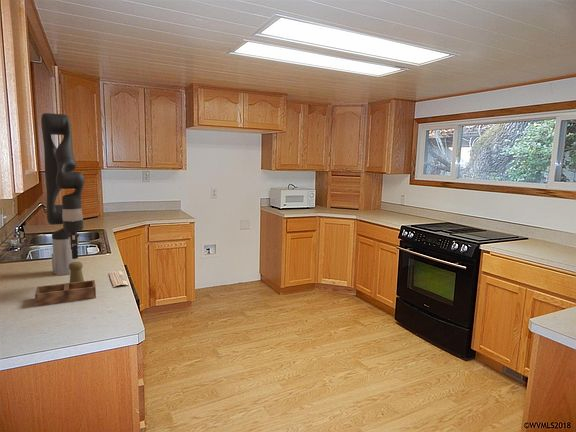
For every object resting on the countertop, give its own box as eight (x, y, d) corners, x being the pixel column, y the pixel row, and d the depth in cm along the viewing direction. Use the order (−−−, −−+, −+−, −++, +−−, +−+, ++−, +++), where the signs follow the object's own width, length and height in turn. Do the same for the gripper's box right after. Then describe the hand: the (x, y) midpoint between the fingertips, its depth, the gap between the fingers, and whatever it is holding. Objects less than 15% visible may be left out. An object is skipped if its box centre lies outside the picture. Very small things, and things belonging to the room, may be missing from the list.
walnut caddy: (35, 306, 146) (34, 294, 146) (38, 297, 155) (37, 286, 154) (96, 297, 156) (95, 287, 155) (94, 290, 165) (94, 280, 164)
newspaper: (108, 275, 189) (108, 271, 188) (124, 273, 192) (124, 270, 192) (113, 289, 168) (113, 285, 168) (131, 287, 172) (131, 283, 172)
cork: (81, 283, 173) (79, 259, 171) (87, 286, 169) (85, 262, 168) (66, 286, 168) (65, 262, 167) (72, 290, 165) (71, 264, 163)
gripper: (63, 217, 169) (65, 254, 171) (62, 221, 157) (64, 261, 159) (82, 216, 173) (84, 252, 175) (83, 220, 160) (85, 259, 162)
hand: (75, 256), depth 167 cm, fingers open, 8 cm apart
